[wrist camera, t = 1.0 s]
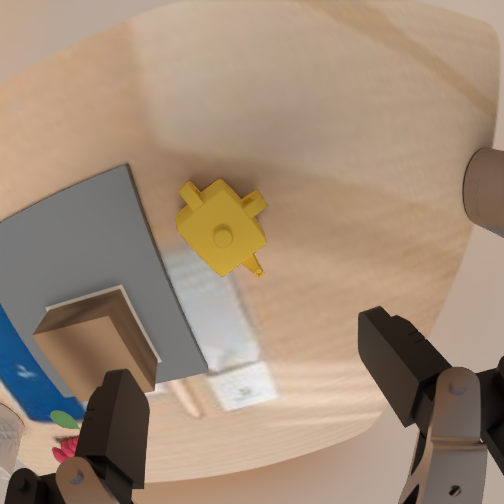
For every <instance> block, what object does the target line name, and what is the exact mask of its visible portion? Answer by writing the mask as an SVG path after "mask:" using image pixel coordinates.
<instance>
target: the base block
mask: <svg viewBox="0 0 504 504" xmlns="http://www.w3.org/2000/svg"><path fill="white" fill-rule="evenodd" d="M32 336H33V338H34V339H35V341H36V343H37V344H38V346H39V347H40V349H41V350H42V352H43V353H44V354H45V356H46V357H47V359H48V360H49V362H50V363H51V364H52V366H53V367H54V369H55V370H56V371H57V373H58V374H59V375H60V377H61V378H62V379H63V381H64V382H65V383H66V384H67V386H68V387H69V388H70V390H71V391H72V392H73V393H74V394H75V396H76V397H77V398H78V399H79V401H80V402H84V401H89V398H90V396H91V395H92V394H93V392H94V391H95V390H96V388H97V387H99V386H102V383H103V380H104V376H105V373H106V372H107V371H111V370H119V369H125V368H126V369H128V370H129V371H130V372H131V373H132V375H133V377H134V378H135V380H136V382H137V383H138V385H139V386H140V388H141V390H142V391H143V393H146V392H152V391H154V390H155V381H156V372H157V364H158V360H157V358H156V356H155V354H154V353H153V351H152V349H151V347H150V346H149V344H148V342H147V340H146V338H145V336H144V335H143V333H142V331H141V329H140V327H139V325H138V323H137V321H136V319H135V318H134V316H133V314H132V312H131V310H130V308H129V306H128V304H127V302H126V300H125V298H124V295H123V293H122V291H121V289H118V290H114V291H111V292H107V293H104V294H101V295H97V296H94V297H91V298H87V299H84V300H81V301H77V302H74V303H71V304H67V305H64V306H60V307H57V308H54V309H50V310H49V311H48V312H47V314H46V315H45V316H44V318H43V319H42V321H41V322H40V324H39V325H38V327H37V328H36V330H35V331H34V333H33V334H32Z"/></svg>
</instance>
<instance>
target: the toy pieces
mask: <svg viewBox="0 0 504 504" xmlns="http://www.w3.org/2000/svg"><path fill="white" fill-rule="evenodd" d="M51 418H52V420H53V421H54V422H55V423H56V424H58V425H59V426H61V427H64V428H69V429H80V428H79V427H78V425H77V423H76V422H75V420H74V419H73V418H72V417H71V416H70V415H68V414H66V413H64V412H62V411H53V412H51ZM80 430H81V429H80ZM78 438H79V436H78V437H77V438H76V437H75V438H72V439H69V440H64V441H63V442H62V443H61V449H59V448H56V447H53V448H52V451H53V454H54V457H55V458H56V460H57V461H59V462H60V463H62V462H63V461H64V460H66V459H68V458H71V457H74V454H75V450H76V446H77V442H78Z"/></svg>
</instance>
